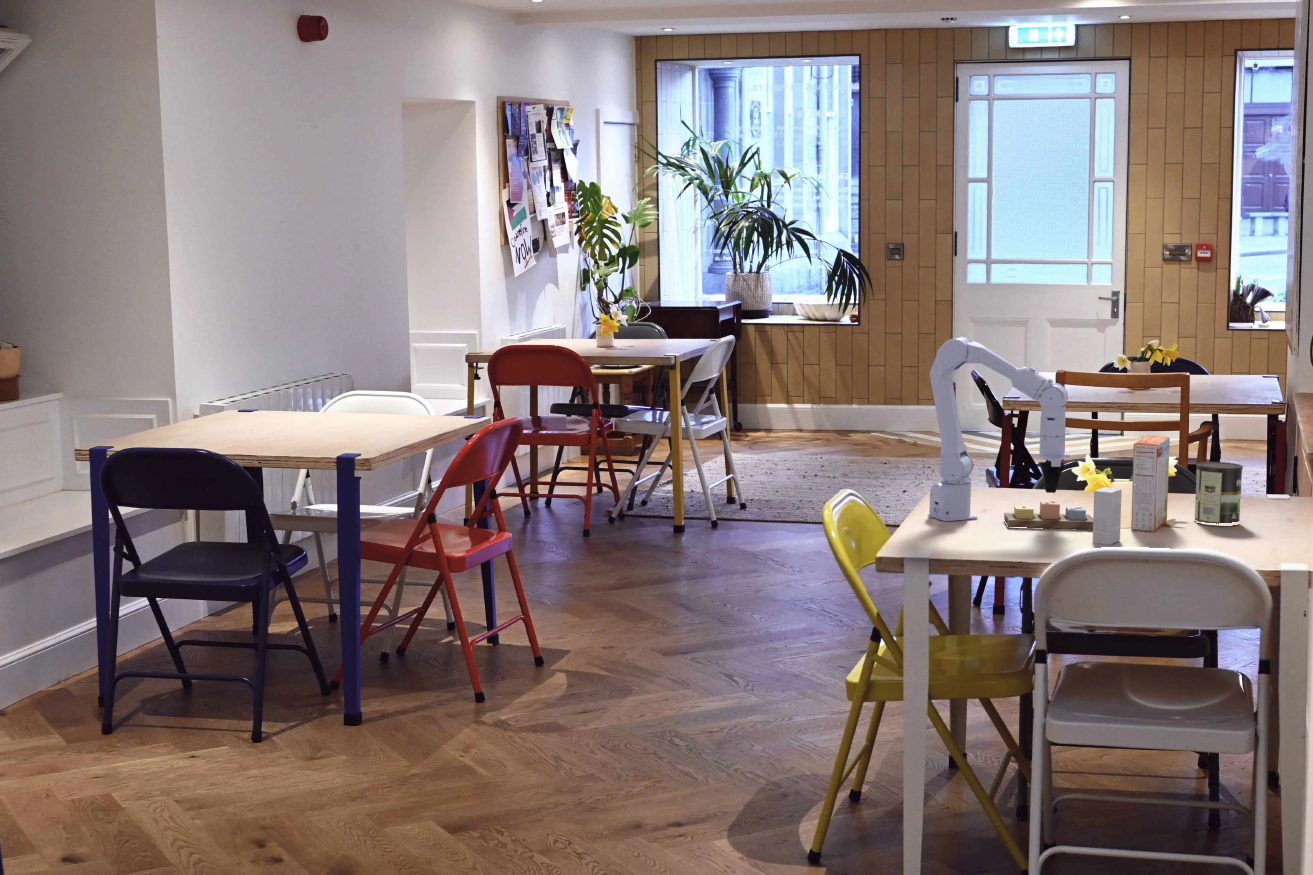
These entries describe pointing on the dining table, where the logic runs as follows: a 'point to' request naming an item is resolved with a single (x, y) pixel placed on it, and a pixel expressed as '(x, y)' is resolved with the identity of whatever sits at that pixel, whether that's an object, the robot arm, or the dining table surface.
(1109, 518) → the skincare box
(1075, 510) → the light blue cube
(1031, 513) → the yellow cube
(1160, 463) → the cracker box
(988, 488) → the dining table surface
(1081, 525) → the brown flat board
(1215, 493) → the coffee can
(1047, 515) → the two dot tile
